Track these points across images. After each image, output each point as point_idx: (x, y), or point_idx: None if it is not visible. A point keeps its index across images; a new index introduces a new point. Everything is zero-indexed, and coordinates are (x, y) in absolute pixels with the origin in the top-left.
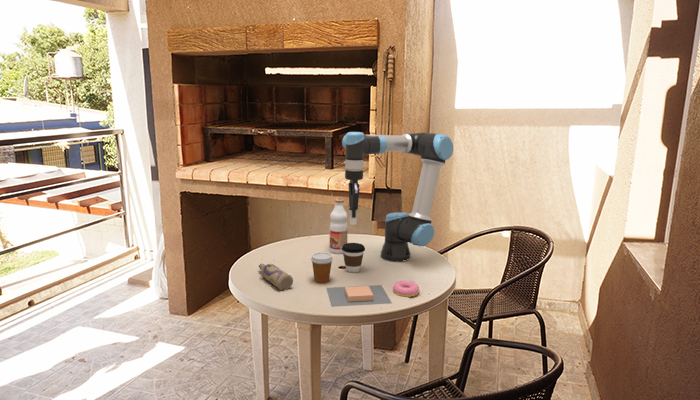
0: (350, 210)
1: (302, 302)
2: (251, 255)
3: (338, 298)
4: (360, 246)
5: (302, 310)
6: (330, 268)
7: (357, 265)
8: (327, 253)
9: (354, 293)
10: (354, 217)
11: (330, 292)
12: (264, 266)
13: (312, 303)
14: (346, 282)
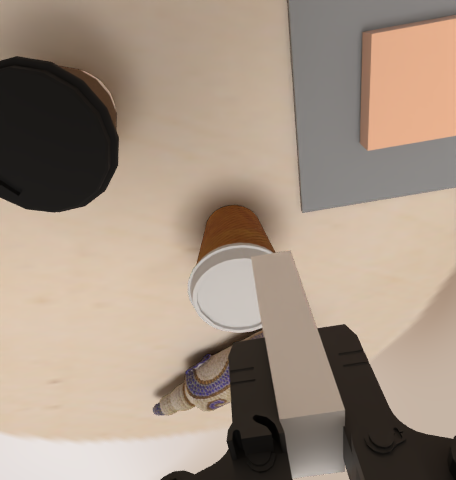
0: (343, 464)
1: (397, 269)
2: (32, 433)
3: (405, 164)
4: (29, 98)
5: (452, 263)
6: (247, 230)
7: (106, 92)
8: (203, 278)
9: (441, 108)
10: (348, 337)
11: (347, 195)
12: (211, 410)
13: (411, 242)
14: (235, 135)
